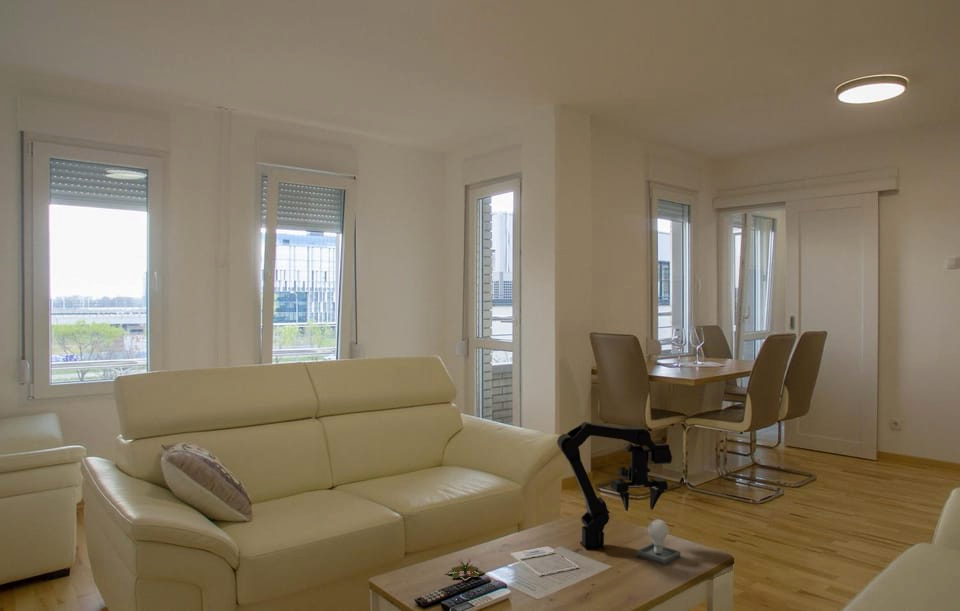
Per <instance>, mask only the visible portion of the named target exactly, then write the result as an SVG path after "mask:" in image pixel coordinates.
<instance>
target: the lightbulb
mask: <svg viewBox="0 0 960 611" xmlns="http://www.w3.org/2000/svg"><path fill="white" fill-rule="evenodd" d="M647 532H648V534H649V536H650V537H651V540H652V543H653V544H654V552H655V553H656V554H660V553H662V546H664V542H665V539H667V536H668V534H669V526H668V524H667V523H666V522H665V521H664V520H662V519H659V518H657V519H652V520H651V521H650V522H649V523H648V526H647Z"/></svg>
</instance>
